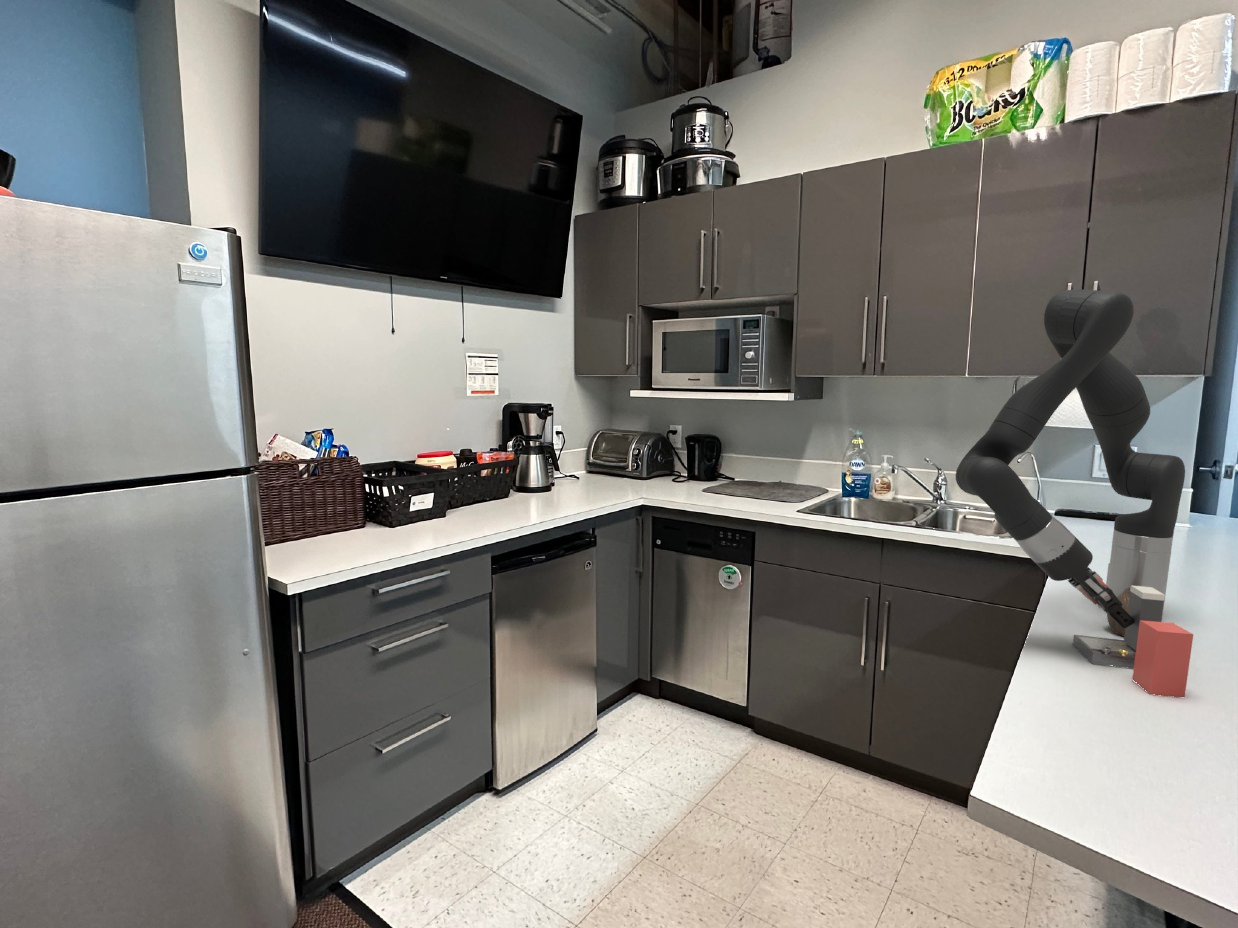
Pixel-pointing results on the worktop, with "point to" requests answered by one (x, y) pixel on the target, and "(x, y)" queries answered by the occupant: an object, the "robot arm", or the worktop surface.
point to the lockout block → (1162, 658)
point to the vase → (1125, 602)
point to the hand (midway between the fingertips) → (1127, 623)
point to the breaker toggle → (1143, 610)
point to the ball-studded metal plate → (1105, 651)
